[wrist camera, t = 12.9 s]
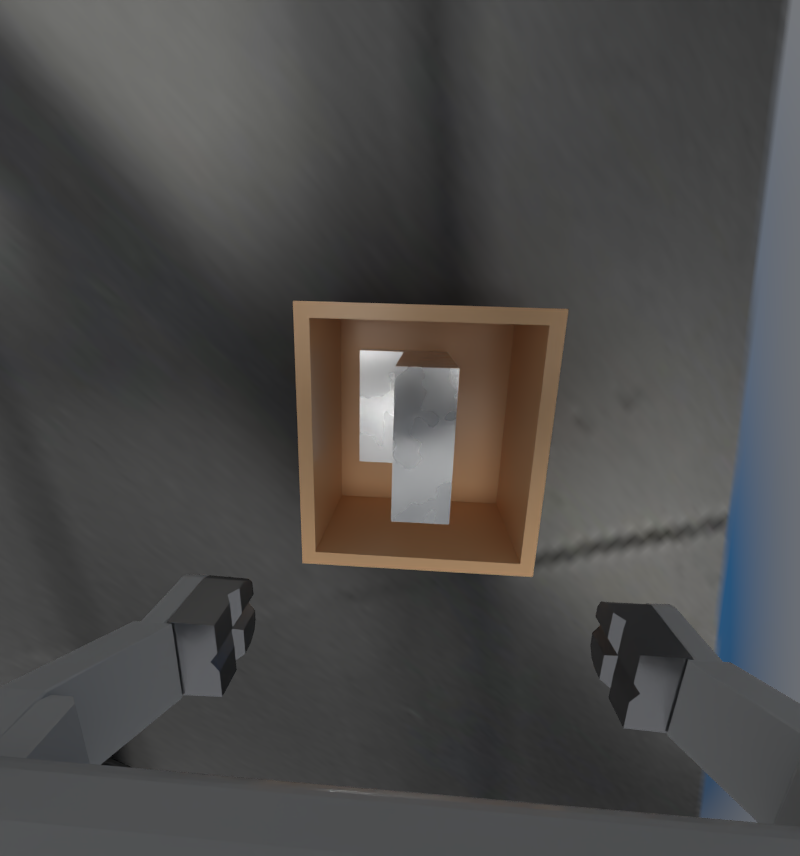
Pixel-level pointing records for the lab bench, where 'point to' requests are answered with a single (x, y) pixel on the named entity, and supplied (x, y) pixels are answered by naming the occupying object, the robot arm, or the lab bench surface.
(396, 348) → the open box
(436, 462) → the aluminium bracket
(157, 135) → the lab bench surface
